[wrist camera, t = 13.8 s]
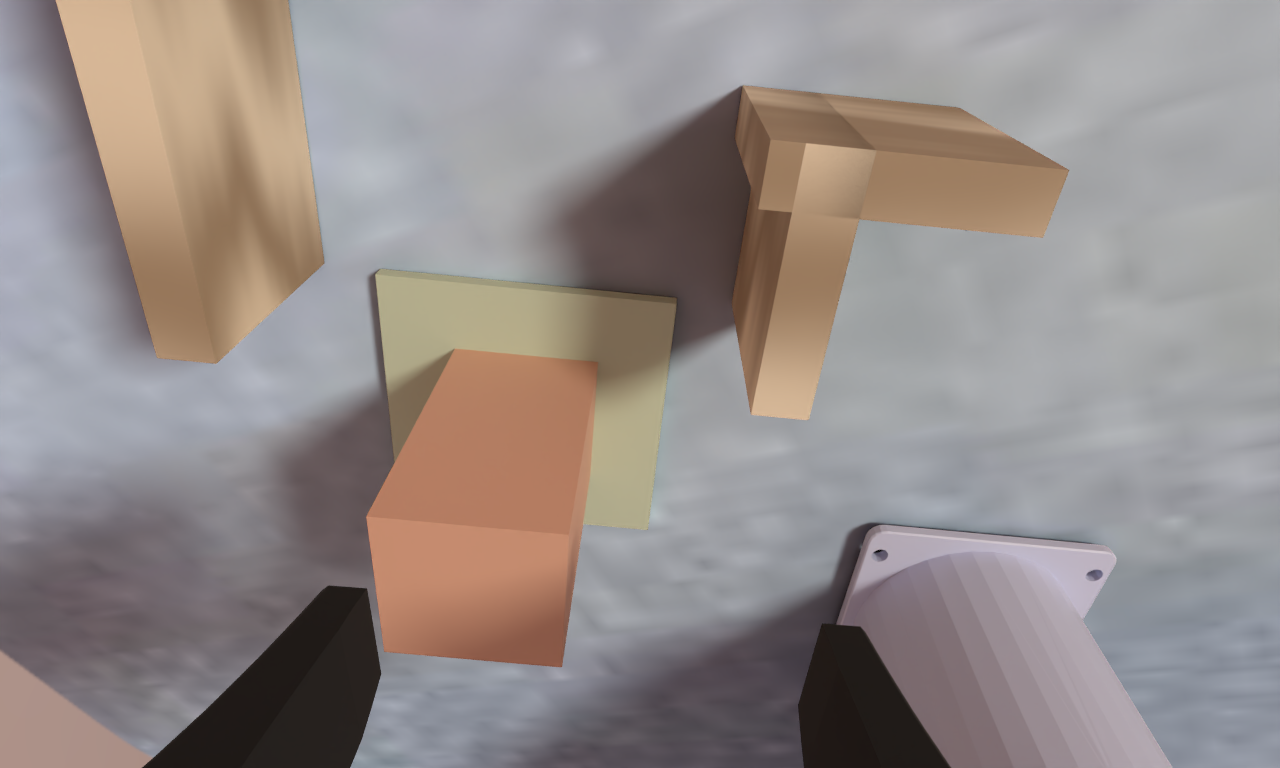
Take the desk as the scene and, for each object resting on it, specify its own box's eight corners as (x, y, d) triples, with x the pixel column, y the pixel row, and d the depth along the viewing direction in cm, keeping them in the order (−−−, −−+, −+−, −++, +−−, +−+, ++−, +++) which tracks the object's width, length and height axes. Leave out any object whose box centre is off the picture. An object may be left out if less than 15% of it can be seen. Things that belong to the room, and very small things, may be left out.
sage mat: (647, 521, 24) (647, 530, 24) (402, 498, 24) (398, 507, 24) (676, 297, 20) (676, 304, 20) (380, 268, 20) (375, 274, 19)
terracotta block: (590, 475, 23) (561, 667, 17) (460, 463, 23) (384, 651, 17) (598, 362, 21) (568, 535, 15) (455, 348, 20) (366, 516, 14)
